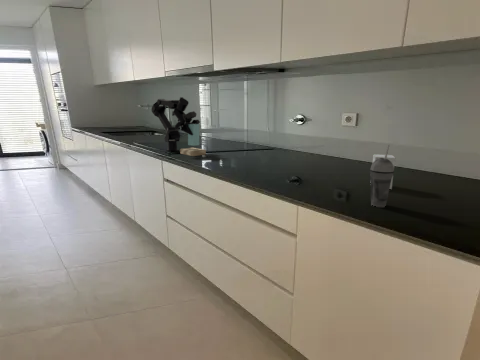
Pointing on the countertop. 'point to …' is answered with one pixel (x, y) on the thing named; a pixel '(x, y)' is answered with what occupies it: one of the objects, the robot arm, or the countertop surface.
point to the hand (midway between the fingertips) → (195, 134)
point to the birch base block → (193, 151)
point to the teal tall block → (193, 138)
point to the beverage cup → (381, 180)
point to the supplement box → (389, 157)
